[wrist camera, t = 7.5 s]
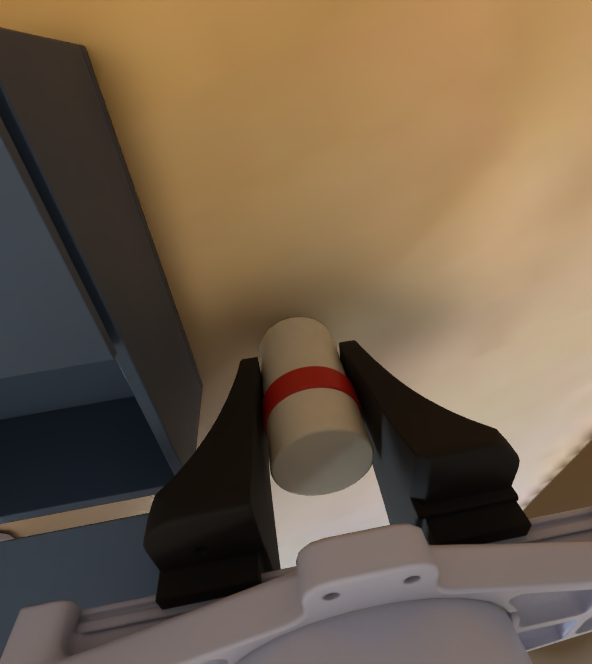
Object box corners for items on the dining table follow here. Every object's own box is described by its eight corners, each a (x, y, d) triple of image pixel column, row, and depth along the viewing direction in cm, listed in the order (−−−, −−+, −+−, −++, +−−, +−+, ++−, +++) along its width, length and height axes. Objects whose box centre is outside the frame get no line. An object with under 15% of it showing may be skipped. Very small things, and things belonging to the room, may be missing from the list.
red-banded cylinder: (336, 370, 17) (377, 487, 12) (263, 383, 17) (275, 507, 12) (332, 307, 15) (379, 417, 10) (250, 321, 15) (258, 439, 10)
